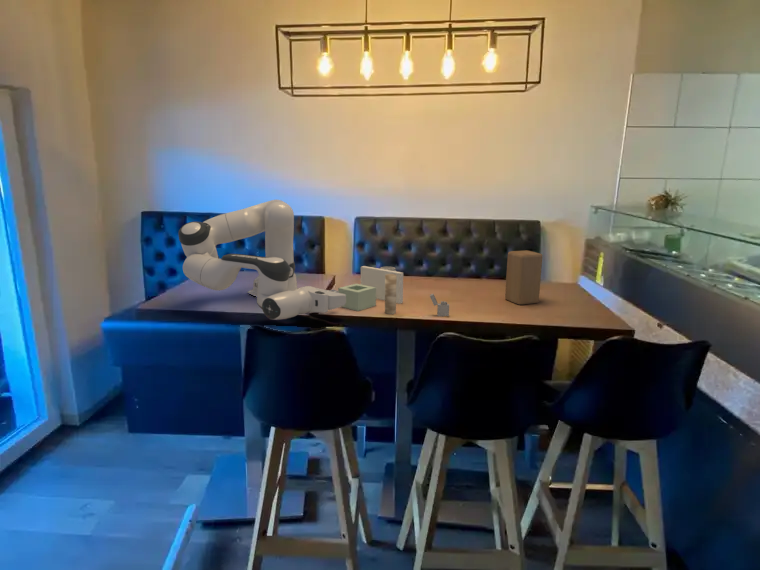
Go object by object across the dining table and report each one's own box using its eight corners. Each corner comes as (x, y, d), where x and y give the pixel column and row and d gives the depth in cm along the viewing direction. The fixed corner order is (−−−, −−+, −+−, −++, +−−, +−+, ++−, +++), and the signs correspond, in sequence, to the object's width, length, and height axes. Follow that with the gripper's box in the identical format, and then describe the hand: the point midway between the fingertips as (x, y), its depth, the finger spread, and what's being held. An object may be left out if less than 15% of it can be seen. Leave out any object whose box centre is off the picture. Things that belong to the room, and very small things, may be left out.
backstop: (327, 307, 195) (327, 273, 192) (363, 296, 211) (364, 265, 208) (367, 317, 182) (367, 281, 179) (402, 305, 198) (403, 272, 195)
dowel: (382, 315, 184) (382, 275, 181) (389, 313, 187) (389, 273, 184) (391, 318, 182) (391, 276, 178) (398, 315, 185) (398, 275, 181)
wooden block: (524, 297, 212) (527, 249, 208) (539, 303, 203) (543, 253, 199) (503, 299, 209) (507, 251, 204) (518, 305, 200) (522, 255, 195)
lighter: (448, 315, 186) (449, 294, 184) (448, 316, 184) (449, 295, 182) (429, 314, 187) (429, 293, 185) (428, 315, 185) (429, 294, 183)
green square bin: (338, 306, 192) (338, 288, 190) (356, 301, 200) (356, 283, 198) (358, 311, 186) (358, 292, 184) (375, 305, 193) (376, 287, 192)
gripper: (287, 303, 181) (316, 296, 191) (328, 314, 168) (356, 305, 178) (287, 285, 179) (316, 279, 189) (327, 295, 166) (356, 288, 177)
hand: (336, 292), depth 184 cm, fingers closed
